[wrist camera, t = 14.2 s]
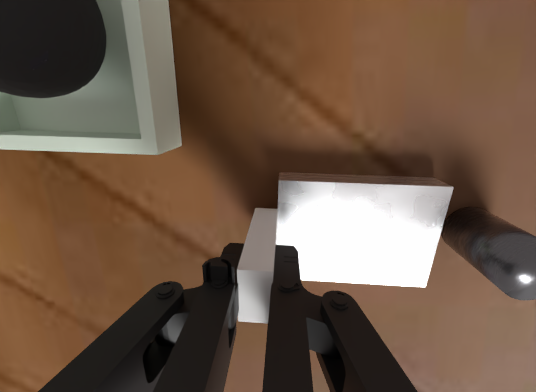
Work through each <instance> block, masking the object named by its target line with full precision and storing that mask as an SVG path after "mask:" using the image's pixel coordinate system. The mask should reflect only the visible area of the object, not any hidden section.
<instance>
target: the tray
mask: <svg viewBox="0 0 536 392" xmlns="http://www.w3.org/2000/svg"><path fill="white" fill-rule="evenodd" d="M96 1H97V4H98V6H99V9H100V11H101V14H102V17H103V21H104V26H105V30H106V52H105V57H104V61H103V63H102V65H101V68H100V70H99V72H98V73H97V74H96V76H95V77H94V78H93V79H92V80H91V81H90V82H89V83H88V84H87V85H86V86H84V87H82V88H81V89H79V90H77V91H75V92H73V93H70V94H67V95H63V96H58V97H52V98H30V97H20V96H15V95H10V94H7V93H3V92H0V149H7V150H35V151H63V152H92V153H120V154H148V155H159V154H162V153H164V152H167V151H170V150H172V149H175V148H178V147H180V146H182V141H181V130H180V119H179V109H178V98H177V87H176V76H175V66H174V55H173V44H172V34H171V23H170V12H169V1H168V0H96Z"/></svg>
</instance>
